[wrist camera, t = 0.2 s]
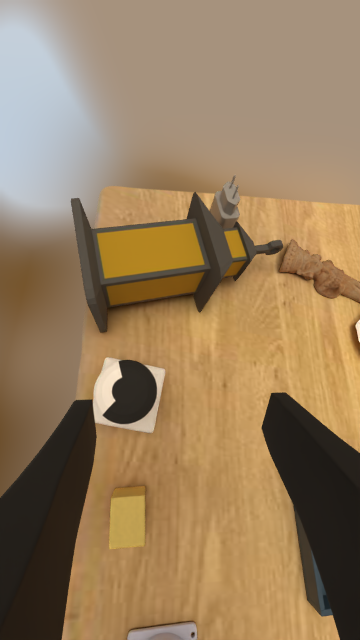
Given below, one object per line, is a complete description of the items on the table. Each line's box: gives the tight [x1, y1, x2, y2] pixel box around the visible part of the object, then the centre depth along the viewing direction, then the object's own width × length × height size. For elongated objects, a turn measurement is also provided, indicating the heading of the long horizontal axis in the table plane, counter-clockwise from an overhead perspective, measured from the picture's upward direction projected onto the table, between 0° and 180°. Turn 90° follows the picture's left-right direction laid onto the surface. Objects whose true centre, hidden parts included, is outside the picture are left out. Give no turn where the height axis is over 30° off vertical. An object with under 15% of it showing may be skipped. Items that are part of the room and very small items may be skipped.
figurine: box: [279, 239, 360, 303], centre depth 49 cm, size 7×4×20 cm
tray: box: [294, 507, 333, 616], centre depth 37 cm, size 15×11×3 cm
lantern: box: [71, 192, 283, 333], centre depth 41 cm, size 14×14×30 cm
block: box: [109, 486, 145, 549], centre depth 34 cm, size 5×4×4 cm
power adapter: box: [210, 175, 240, 229], centre depth 45 cm, size 3×5×12 cm, turn 12°
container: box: [93, 357, 165, 433], centre depth 34 cm, size 8×8×13 cm
